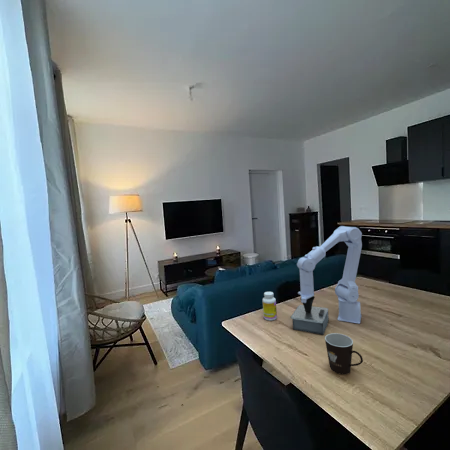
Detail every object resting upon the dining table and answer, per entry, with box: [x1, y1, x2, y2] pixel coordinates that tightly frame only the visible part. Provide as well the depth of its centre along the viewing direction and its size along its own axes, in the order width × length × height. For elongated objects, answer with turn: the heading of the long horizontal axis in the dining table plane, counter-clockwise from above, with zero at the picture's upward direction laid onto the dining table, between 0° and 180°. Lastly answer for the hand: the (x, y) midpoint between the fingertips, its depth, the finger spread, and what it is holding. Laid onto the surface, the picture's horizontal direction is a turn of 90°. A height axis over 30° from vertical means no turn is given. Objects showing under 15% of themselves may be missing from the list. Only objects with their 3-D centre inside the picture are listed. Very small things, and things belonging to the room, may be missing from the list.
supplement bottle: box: [262, 291, 278, 321], centre depth 124 cm, size 7×7×13 cm
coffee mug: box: [324, 332, 364, 375], centre depth 82 cm, size 12×9×10 cm
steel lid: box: [290, 304, 329, 323], centre depth 114 cm, size 14×15×2 cm
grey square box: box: [291, 311, 330, 336], centre depth 114 cm, size 13×14×5 cm
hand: (308, 312), depth 114 cm, fingers closed, pressing on steel lid
